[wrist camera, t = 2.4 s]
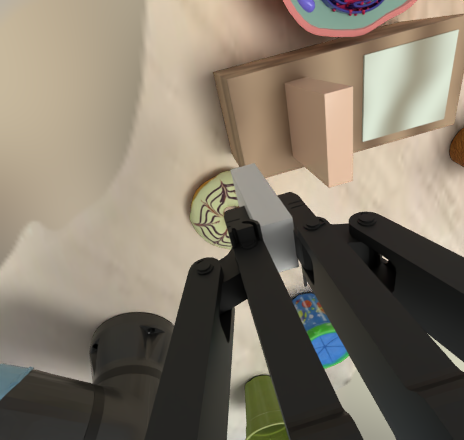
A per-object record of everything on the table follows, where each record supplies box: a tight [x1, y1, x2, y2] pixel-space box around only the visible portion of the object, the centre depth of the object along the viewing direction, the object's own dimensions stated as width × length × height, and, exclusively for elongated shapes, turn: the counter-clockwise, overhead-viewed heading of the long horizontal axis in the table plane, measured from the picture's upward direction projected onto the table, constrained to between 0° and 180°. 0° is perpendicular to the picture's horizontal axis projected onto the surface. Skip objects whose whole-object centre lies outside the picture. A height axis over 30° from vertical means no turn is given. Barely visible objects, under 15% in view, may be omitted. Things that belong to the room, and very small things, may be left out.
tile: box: [284, 77, 353, 188], centre depth 24 cm, size 2×7×8 cm, turn 13°
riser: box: [213, 14, 464, 178], centre depth 32 cm, size 23×10×10 cm, turn 103°
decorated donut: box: [190, 171, 239, 249], centre depth 41 cm, size 11×12×4 cm
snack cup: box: [292, 293, 349, 369], centre depth 52 cm, size 16×10×10 cm
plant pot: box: [245, 375, 289, 440], centre depth 63 cm, size 12×12×11 cm
